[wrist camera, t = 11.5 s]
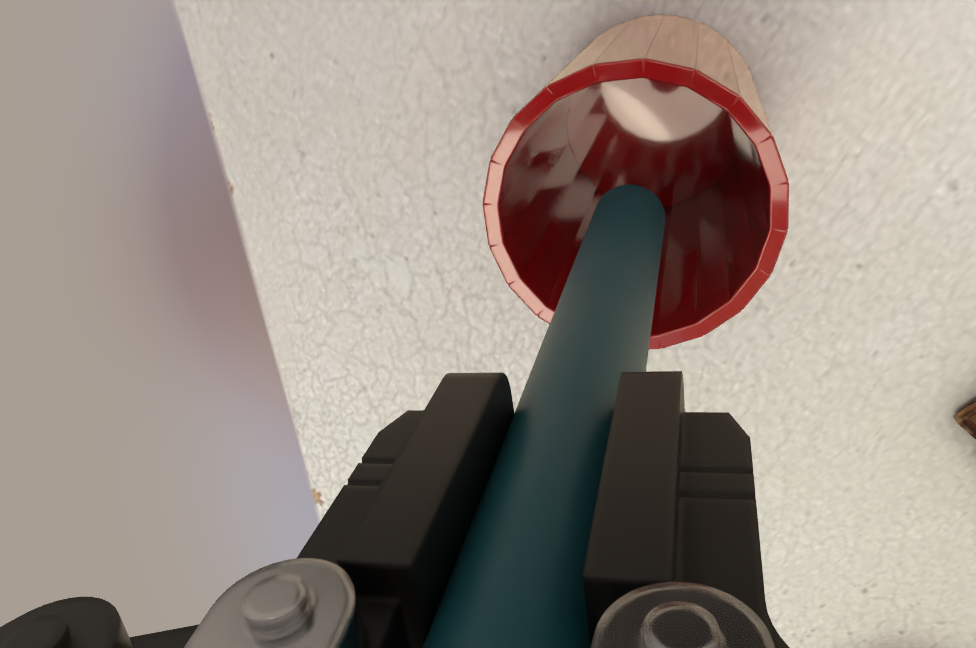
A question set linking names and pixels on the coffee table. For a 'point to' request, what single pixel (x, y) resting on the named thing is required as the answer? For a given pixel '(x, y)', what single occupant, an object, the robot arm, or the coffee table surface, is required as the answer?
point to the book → (968, 419)
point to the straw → (558, 446)
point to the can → (645, 172)
